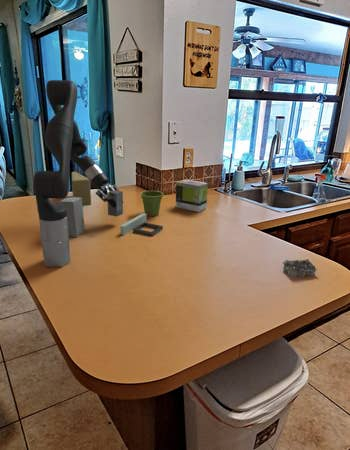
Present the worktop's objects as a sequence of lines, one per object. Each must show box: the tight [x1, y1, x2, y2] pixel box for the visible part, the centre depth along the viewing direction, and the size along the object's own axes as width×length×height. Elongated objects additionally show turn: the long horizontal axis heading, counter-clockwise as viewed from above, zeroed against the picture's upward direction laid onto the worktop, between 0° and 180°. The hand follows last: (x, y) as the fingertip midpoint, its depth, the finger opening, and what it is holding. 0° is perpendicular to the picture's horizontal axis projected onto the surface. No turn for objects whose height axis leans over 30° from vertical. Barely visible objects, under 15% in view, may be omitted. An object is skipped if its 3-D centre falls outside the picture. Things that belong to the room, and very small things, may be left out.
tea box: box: [175, 179, 209, 213], centre depth 187 cm, size 15×10×15 cm, turn 58°
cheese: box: [71, 171, 92, 207], centre depth 192 cm, size 22×10×15 cm, turn 26°
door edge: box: [119, 212, 148, 236], centre depth 157 cm, size 20×2×4 cm, turn 155°
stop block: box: [107, 190, 124, 218], centre depth 158 cm, size 5×5×11 cm
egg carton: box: [282, 258, 318, 278], centre depth 122 cm, size 11×8×4 cm
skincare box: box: [59, 196, 85, 238], centre depth 146 cm, size 8×7×16 cm
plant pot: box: [140, 190, 164, 217], centre depth 175 cm, size 12×12×11 cm
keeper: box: [132, 222, 164, 237], centre depth 155 cm, size 10×10×2 cm
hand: (118, 205), depth 157 cm, fingers closed on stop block, 5 cm apart
